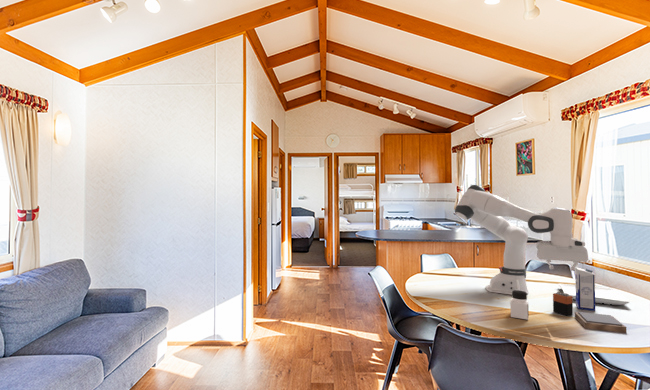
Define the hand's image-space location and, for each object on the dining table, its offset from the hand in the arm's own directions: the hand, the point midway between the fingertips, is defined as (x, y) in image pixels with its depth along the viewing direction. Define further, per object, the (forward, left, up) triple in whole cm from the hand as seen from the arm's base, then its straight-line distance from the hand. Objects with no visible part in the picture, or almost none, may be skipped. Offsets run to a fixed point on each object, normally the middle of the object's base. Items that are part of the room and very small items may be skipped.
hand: (561, 269), depth 161 cm
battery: (0, 0, -21) cm, 21 cm away
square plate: (+22, +38, -22) cm, 49 cm away
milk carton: (+13, +14, -21) cm, 29 cm away
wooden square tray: (+11, -11, -21) cm, 26 cm away
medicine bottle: (-20, -12, -21) cm, 31 cm away
